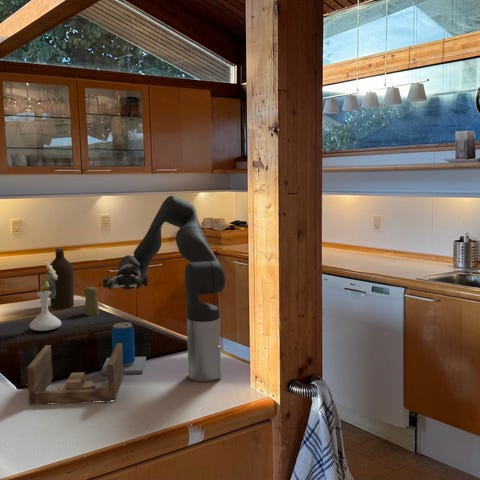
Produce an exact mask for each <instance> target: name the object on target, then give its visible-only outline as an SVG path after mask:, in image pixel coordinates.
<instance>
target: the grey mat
mask: <svg viewBox="0 0 480 480" xmlns="http://www.w3.org/2000/svg"><path fill="white" fill-rule="evenodd" d="M109 360H110V357H107V358H106V360H105V362H103V363H104V364H103V366H102V368H101V370H100V376H105V375H107V376H108V370H107V364H108V362H109ZM146 362H147V356H135V361H134V362H133V363H132V364H131V365H129V366H123V375H132V374H133V375H134V374H135V375H136V374H137V375H138V374H143V373H144V371H145V370H144V369H145V365H146Z"/></svg>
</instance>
